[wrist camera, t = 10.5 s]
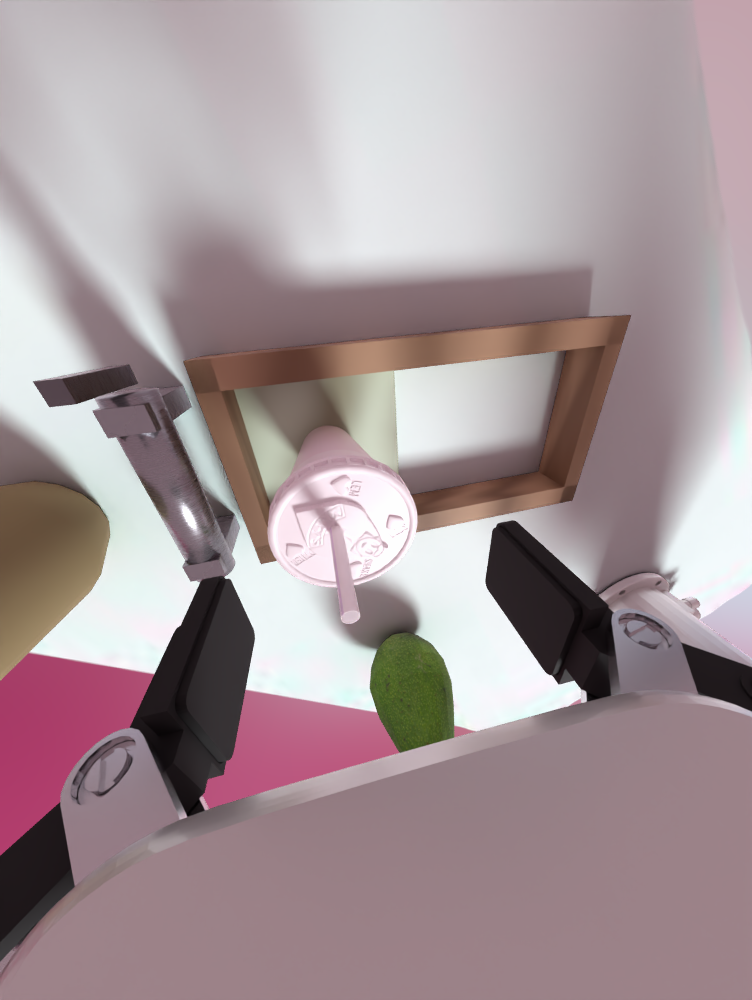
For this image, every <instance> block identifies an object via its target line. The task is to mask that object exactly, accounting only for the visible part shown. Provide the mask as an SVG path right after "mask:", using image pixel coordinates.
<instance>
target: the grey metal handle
mask: <svg viewBox="0 0 752 1000" xmlns="http://www.w3.org/2000/svg"><path fill="white" fill-rule="evenodd" d="M34 384H35V386H36V387H37V389H38V390H39V392H40V393H41V395H42V396H43V398H44V399H45V401H46V403H47V404H48V406H49V407H55V406H64V405H73V404H78V403H81V402H84V401H87V400H90V399H93V398H94V399H95V401H96V402H97V404H98V406H99V409H96V410H93V413H94V415H95V416H96V418H97V420H98V422H99V423H100V425H101V427H102V428H103V430H104V432H105V434H106V435H107V437H108V438H114V437H116V438H117V440H118V442H119V443H120V445H121V447H122V449H123V450H124V452H125V454H126V456H127V458H128V459H129V461H130V463H131V465H132V466H133V468H134V470H135V472H136V474H137V475H138V477H139V479H140V481H141V483H142V484H143V486H144V488H145V490H146V491H147V493H148V495H149V497H150V499H151V500H152V502H153V504H154V506H155V507H156V509H157V511H158V513H159V515H160V516H161V518H162V520H163V522H164V523H165V525H166V527H167V529H168V531H169V532H170V534H171V536H172V538H173V540H174V541H175V543H176V545H177V547H178V548H179V550H180V552H181V554H182V556H183V557H184V559H185V563H184V565H183V569H184V571H185V572H186V574H187V576H188V578H189V579H190V581H196V580H197V581H198V582H201V581H202V580H203V579H206V578H211V577H216V576H223V577H225V576H226V575H228V574H229V573H230V572H231V571H232V570H233V568H234V566H235V560H234V558H233V556H232V552H233V548H234V545H235V542H236V539H237V535H238V532H239V529H240V527H239V524H238V522H237V519H236V517H235V515H230V516H224V517H218V518H215V515H214V513H213V511H212V509H211V506H210V504H209V502H208V499H207V497H206V495H205V493H204V490H203V488H202V486H201V484H200V481H199V479H198V477H197V475H196V472H195V470H194V468H193V466H192V463H191V461H190V459H189V457H188V454H187V452H186V450H185V448H184V445H183V443H182V441H181V439H180V436H179V434H178V432H177V430H176V427H175V425H174V423H173V420H174V419H175V418H177V417H178V416H180V415H181V414H182V413H184V412H185V411H187V410H188V409H189V408H191V404H190V402H189V399H188V396H187V394H186V391H185V389H184V386H177V387H168V388H159V389H158V388H156V387H149V388H139V389H131V390H124V391H119V392H114V391H117V390H120V389H123V388H126V387H129V386H132V385H135V384H138V382H137V380H136V378H135V376H134V374H133V372H132V370H131V368H130V365H120V366H110V367H105V368H100V369H95V370H90V371H84V372H79V373H74V374H69V375H64V376H59V377H54V378H49V379H44V380H39V381H34ZM111 392H113V393H111ZM108 393H109V394H108Z"/></svg>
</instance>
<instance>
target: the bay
mask: <svg viewBox="0 0 752 1000" xmlns="http://www.w3.org/2000/svg"><path fill="white" fill-rule="evenodd" d="M630 317H631V315H621V316H597V317H583V318H573V319H563V320H553V321H543V322H533V323H523V324H513V325H504V326H494V327H484V328H474V329H464V330H454V331H444V332H434V333H425V334H415V335H405V336H395V337H385V338H375V339H365V340H355V341H345V342H336V343H326V344H316V345H306V346H296V347H286V348H276V349H266V350H257V351H247V352H237V353H227V354H217V355H207V356H200V357H196V358H192V359H189V360H185V361H183V362H184V365H185V367H186V370H187V373H188V375H189V378H190V380H191V383H192V386H193V388H194V391H195V393H196V396H197V399H198V401H199V404H200V407H201V409H202V412H203V414H204V417H205V420H206V422H207V425H208V427H209V430H210V433H211V435H212V438H213V440H214V443H215V446H216V448H217V451H218V453H219V456H220V459H221V461H222V464H223V466H224V469H225V472H226V474H227V477H228V479H229V482H230V485H231V487H232V490H233V493H234V495H235V498H236V500H237V503H238V506H239V508H240V511H241V513H242V516H243V519H244V521H245V524H246V526H247V529H248V532H249V534H250V537H251V539H252V542H253V545H254V547H255V550H256V552H257V555H258V558H259V560H260V563H261V564H263V563H268V562H273V561H277V560H276V558H275V557H274V555H273V553H272V551H271V548H270V545H269V541H268V519H269V510H270V505H271V503H272V501H273V499H274V496H275V494H276V492H277V490H278V489H279V487H280V486H281V485H282V484H283V483H284V482H285V481H286V479H287V478H288V477H289V476H290V474H291V472H292V469H293V467H294V464H295V462H296V459H297V457H298V454H299V452H300V449H301V446H302V444H303V441H304V439H305V438H306V436H307V435H308V434H309V433H310V432H311V431H312V430H314V429H316V428H318V427H321V426H336V427H339V428H341V429H343V430H344V431H346V432H347V433H348V434H349V435H350V436H351V437H352V438H353V439H354V440H355V441H356V442H357V443H358V444H359V445H360V446H361V447H362V448H363V449H364V450H365V451H366V452H367V453H368V454H369V455H370V456H371V458H372V459H374V460H376V461H379V462H381V463H383V464H385V465H387V466H389V467H390V468H391V469H392V470H393V471H394V472H396V473H397V474H398V475H399V473H398V450H397V427H396V404H395V381H394V370H403V369H411V368H420V367H428V366H437V365H445V364H453V363H462V362H470V361H479V360H487V359H496V358H504V357H512V356H521V355H529V354H538V353H546V352H555V351H563V350H566V355H565V359H564V363H563V368H562V372H561V376H560V381H559V385H558V389H557V394H556V398H555V402H554V407H553V411H552V415H551V419H550V424H549V428H548V432H547V437H546V441H545V445H544V450H543V454H542V458H541V463H540V467H539V471H538V472H533V473H528V474H523V475H517V476H512V477H506V478H501V479H495V480H490V481H485V482H479V483H474V484H468V485H463V486H457V487H452V488H447V489H441V490H436V491H430V492H425V493H419V494H414V495H411V496H412V498H413V500H414V503H415V506H416V510H417V529H416V532H420V531H425V530H430V529H435V528H440V527H445V526H450V525H455V524H460V523H464V522H469V521H474V520H479V519H484V518H489V517H494V516H499V515H504V514H509V513H513V512H518V511H523V510H528V509H533V508H538V507H543V506H548V505H553V504H558V503H563V502H567V501H572V500H573V497H574V494H575V491H576V487H577V484H578V481H579V478H580V475H581V472H582V469H583V465H584V462H585V459H586V456H587V453H588V450H589V446H590V443H591V440H592V437H593V434H594V431H595V428H596V424H597V421H598V418H599V415H600V412H601V409H602V405H603V402H604V399H605V396H606V393H607V390H608V386H609V383H610V380H611V377H612V374H613V371H614V368H615V364H616V361H617V358H618V355H619V352H620V349H621V345H622V342H623V339H624V336H625V333H626V330H627V327H628V323H629V320H630Z"/></svg>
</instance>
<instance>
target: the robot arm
mask: <svg viewBox="0 0 752 1000" xmlns="http://www.w3.org/2000/svg"><path fill="white" fill-rule="evenodd" d="M485 582H486V586H487V589H488V590H489V592H490V593H491V595H492V596H493V598H494V599H495V600H496V602H497V603H498V605H499V606H500V608H501V609H502V611H503V612H504V613H505V615H506V616H507V618H508V619H509V621H510V622H511V623H512V625H513V626H514V628H515V629H516V631H517V632H518V634H519V635H520V636H521V638H522V639H523V641H524V642H525V644H526V645H527V646H528V648H529V649H530V651H531V652H532V654H533V655H534V657H535V658H536V659H537V661H538V662H539V664H540V665H541V667H542V668H543V669H544V671H545V672H546V673H547V674H549V675H552V676H553V677H554V678H555V680H556V681H557V683H558V684H563V683H566V682H570V681H575V682H576V683H577V684H578V686H579V687H580V688H581V703H580V704H577V705H573V706H568V707H564V708H560V709H557V710H553V711H549V712H546V713H542V714H539V715H535V716H531V717H528V718H524V719H520V720H517V721H513V722H509V723H506V724H502V725H498V726H495V727H491V728H487V729H484V730H480V731H477V732H473V733H469V734H466V735H462V736H459V737H455V738H452V739H448V740H444V741H441V742H437V743H434V744H430V745H426V746H423V747H419V748H416V749H412V750H409V751H405V752H402V753H398V754H395V755H391V756H387V757H384V758H380V759H377V760H373V761H370V762H366V763H363V764H359V765H356V766H352V767H349V768H345V769H342V770H338V771H335V772H331V773H328V774H325V775H321V776H318V777H314V778H310V779H307V780H303V781H300V782H296V783H293V784H290V785H286V786H282V787H279V788H276V789H272V790H269V791H266V792H262V793H259V794H256V795H253V796H250V797H246V798H243V799H240V800H236V801H233V802H230V803H227V804H223V805H220V806H217V807H214V808H211V809H209V808H208V806H207V804H206V802H205V800H204V798H203V796H202V795H203V794H204V793H205V788H206V784H207V780H208V779H209V778H213V777H217V776H221V775H223V774H224V769H225V764H226V761H227V760H230V759H231V758H232V755H233V752H234V747H235V742H236V737H237V731H238V726H239V721H240V715H241V710H242V705H243V699H244V693H245V689H246V683H247V678H248V673H249V667H250V662H251V657H252V651H253V646H254V640H255V634H254V630H253V627H252V625H251V623H250V621H249V619H248V616H247V614H246V612H245V610H244V608H243V606H242V603H241V601H240V599H239V597H238V595H237V592H236V590H235V588H234V586H233V584H232V582H231V580H230V579H225V578H224V577H223V576H216V577H211V578H206V579H203V580H202V581H201V582H200V584H199V587H198V589H197V591H196V593H195V595H194V598H193V600H192V602H191V604H190V606H189V609H188V611H187V613H186V615H185V618H184V620H183V622H182V624H181V626H179V627H178V628H177V629H176V630H175V632H174V634H173V636H172V638H171V640H170V642H169V644H168V646H167V649H166V651H165V653H164V655H163V657H162V659H161V662H160V664H159V666H158V668H157V670H156V672H155V674H154V677H153V679H152V681H151V683H150V685H149V687H148V689H147V692H146V694H145V696H144V698H143V700H142V702H141V705H140V707H139V709H138V711H137V713H136V715H135V717H134V720H133V722H132V724H131V726H130V728H127V729H121V730H119V731H116V732H114V733H112V734H110V735H108V736H107V737H105V738H104V739H102V740H101V741H99V742H98V743H96V744H95V745H94V746H93V747H92V748H91V749H90V750H89V751H88V752H86V753H85V754H84V756H83V757H82V758H81V759H80V761H79V762H78V763H77V764H76V765H75V767H74V768H73V770H72V771H71V773H70V774H69V776H68V778H67V779H66V782H65V784H64V787H63V790H62V792H61V802H60V803H59V804H58V805H56V807H54V808H53V809H52V810H51V811H50V812H49V813H48V814H46V815H45V816H44V817H43V818H42V819H41V820H40V821H39V822H37V823H36V824H35V825H34V826H33V827H32V828H31V829H30V830H29V831H27V832H26V833H25V834H24V835H23V836H22V837H21V838H20V839H18V840H17V841H16V842H15V843H14V844H13V845H12V846H11V847H10V848H8V849H7V850H6V851H5V852H4V853H3V854H2V855H1V856H0V1000H752V658H751V657H750V656H748V655H747V654H746V653H744V652H743V651H741V650H740V649H739V648H737V647H736V646H735V645H733V644H732V643H730V642H729V641H728V640H726V639H725V638H723V637H722V636H721V635H720V634H718V633H716V632H715V631H714V630H712V629H711V628H710V627H709V626H707V625H706V624H705V623H703V622H702V621H700V620H699V618H700V613H699V611H698V610H697V609H696V608H698V607H699V606H700V603H699V601H698V600H697V599H695V598H693V597H689V598H685V599H682V600H679V599H678V598H676V597H675V596H673V595H672V594H671V593H669V590H670V589H669V583H668V581H667V580H665V579H664V578H662V577H661V576H660V575H658V574H655V573H641V574H637V575H633V576H630V577H628V578H625V579H623V580H621V581H619V582H617V583H615V584H614V585H612V586H611V587H609V588H608V589H606V590H605V591H604V592H602V593H601V594H600V595H599V596H598V595H597V594H596V593H595V592H594V591H593V590H591V589H590V588H589V587H588V586H587V585H586V584H585V583H584V582H583V581H581V580H580V579H579V578H578V577H577V576H576V575H575V574H574V573H573V572H572V571H570V570H569V569H568V568H567V567H566V566H565V565H564V564H563V563H562V562H560V561H559V560H558V559H557V558H556V557H555V556H554V555H553V554H552V553H551V552H549V551H548V550H547V549H546V548H545V547H544V546H543V545H542V544H541V543H539V542H538V541H537V540H536V539H535V538H534V537H533V536H532V535H531V534H530V533H528V532H527V531H526V530H525V529H524V528H523V527H522V526H521V525H520V524H519V523H517V522H516V521H507V522H502V523H498V524H497V526H496V528H494V529H493V531H492V538H491V545H490V552H489V559H488V566H487V573H486V581H485Z"/></svg>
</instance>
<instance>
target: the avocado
mask: <svg viewBox="0 0 752 1000" xmlns="http://www.w3.org/2000/svg"><path fill="white" fill-rule="evenodd" d="M370 691H371V694H372V697H373V700H374V703H375V706H376V709H377V713H378V715H379V718H380V720H381V722H382V723H383V725H384V727H385V729H386V730H387V732H388V734H389V736H390V737H391V739H392V741H393V742H394V744H395V746H396V748H397V749H398V751H399V752H400V753H402V752H405V751H409V750H412V749H416V748H419V747H423V746H426V745H430V744H434V743H437V742H441V741H444V740H448V739H452V738H454V705H453V694H452V683H451V679H450V677H449V674H448V671H447V668H446V665H445V662H444V660H443V658H442V657H441V656H440V654H439V653H438V652H437V650H436V649H435V648H434V646H433V645H432V644H431V643H429V642H428V641H426V640H424V639H423V638H421V637H419V636H418V635H415V634H411V633H408V632H404V633H399V634H394V635H391V636H390V637H389V638H387V639H386V640H385V641H384V642H383V643H382V644H381V645H380V647H379V648H378V650H377V652H376V655H375V658H374V661H373V664H372V667H371V679H370Z"/></svg>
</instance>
